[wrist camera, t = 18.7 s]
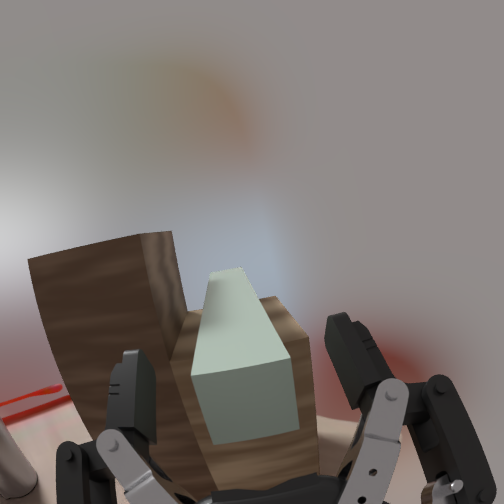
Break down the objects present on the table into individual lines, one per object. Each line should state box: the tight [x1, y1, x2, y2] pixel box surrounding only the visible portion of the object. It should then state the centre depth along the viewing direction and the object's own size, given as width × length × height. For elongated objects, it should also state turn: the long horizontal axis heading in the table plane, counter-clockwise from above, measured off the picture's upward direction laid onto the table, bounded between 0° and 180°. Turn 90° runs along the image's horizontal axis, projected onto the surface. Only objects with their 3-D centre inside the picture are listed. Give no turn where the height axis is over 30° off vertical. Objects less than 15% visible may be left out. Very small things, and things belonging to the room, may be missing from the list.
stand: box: [28, 231, 320, 501], centre depth 28 cm, size 14×22×32 cm, turn 96°
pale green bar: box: [191, 267, 300, 445], centre depth 24 cm, size 26×4×4 cm, turn 6°
